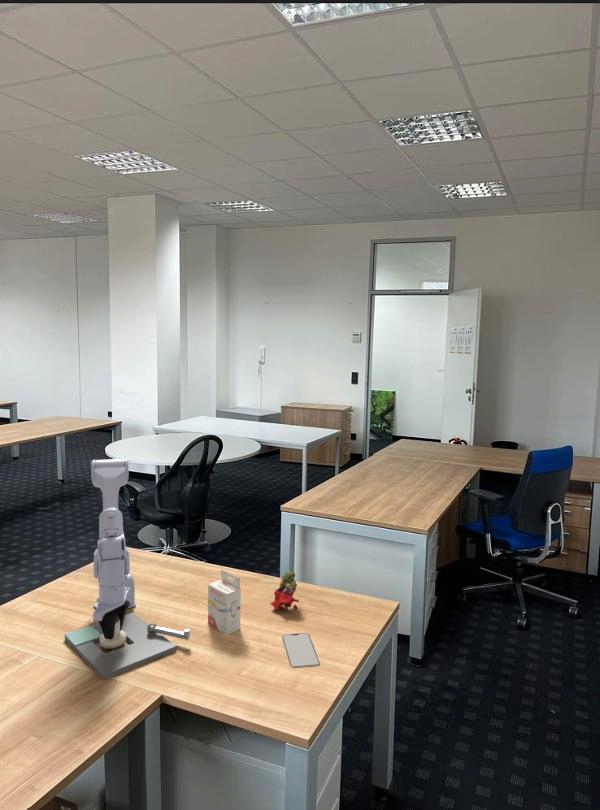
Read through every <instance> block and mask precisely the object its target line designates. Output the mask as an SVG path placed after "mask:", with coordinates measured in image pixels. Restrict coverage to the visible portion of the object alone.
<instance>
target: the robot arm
mask: <svg viewBox="0 0 600 810" xmlns="http://www.w3.org/2000/svg"><path fill="white" fill-rule="evenodd" d="M90 465H91V466H90V472H91V473H90V476H91V481H92V482H91V484H92V485H93V487H94V488H98V489H99V488H100V491H101V494H102V495H101V496H102V512H101V513H100V514H99V516H98V517H99V518H98V519H99V520H98V521H99V522H98V525H99V526H98V529H99V530H98V533H99V535H98V536H99V537H98V538H99V539H97V548H96V549H95V550H94V553H93V578H94V579H95V580H97V581H98V597H97V598H96V603H94V604H93V607H94V608H95V610H94V611H93V613H92V616H93V617H92V618H93V619H92V621H95V622H96V621H97V622H98V624H100V626H101V629H102V631H103V635H104V638H105V639H113V637H114V631H115V623H116V620H117V617H120V631H121V629H122V625H123V621H124V617H125V615H127V611H128V609H130V608H134V607H136V606H137V603H136V601H135V600H136V599H135V596H136V595H135V594H136V593H135V589H136V588H135V581H134V578H133V575H132V574H131V571H130V570H131V568H130V567H131V566H130V562H131V561H130V551H129V550H130V549H128V547H127V546H126V537H125V532H124V524H123V523H124V520H123V519H124V518H123V512H122V511H121V510H119V494H120V493H119V492H120V490H121V487H124V486H125V485H127V484H128V482H129V478H130V477H129V476H130V475H129V473H130V472H129V471H130V470H129V459H128V458H126V457H125V458H113V459H111V458H109V459H92V460H91V463H90Z"/></svg>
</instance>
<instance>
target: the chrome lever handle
mask: <svg viewBox="0 0 600 810" xmlns="http://www.w3.org/2000/svg"><path fill="white" fill-rule="evenodd" d="M148 624H149V625H148V626H147V632H148V633H159V634H161V635H163V636H164V635H166V636H170V637H174V638H179V639H182V640H186V641H187V640H188V641H189V639H190V637H191V636H190V635H191V634H190V633H191V629H188V628H185V629H184V630H183V631H180V630H176V629H172V628H166V627H162V626H157V624H156V623H148Z"/></svg>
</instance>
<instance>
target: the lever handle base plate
mask: <svg viewBox="0 0 600 810" xmlns="http://www.w3.org/2000/svg"><path fill="white" fill-rule="evenodd" d="M149 624H150V623H147V622H146V621H145V620H144V619H142V618H141V617H140V616H138V615H137V614H136V613H134V612H131V613H128V614H127V613H126V614H125V617H124V621H123V625H122V629H121V630H122V631H124V632H125V633H126V642H128V643H129V644H128V645H125V646H123V647H122V646H121V648H119V647H118V648H117V649H113V650H112V651H109V652H106V653H105V652H103V650H102V649H101V648H100V647H99V646H97V644H100V636H101V635H102V634H103V631H102V629H101V626H100V624H99V623H98V624H95V625H88V626H85V627H83V628H79V629H76V630H73V631H70V632H67V633H65V634H64V640H65V641H66V643H67V644H68V645H69V646H70V647H71V648H72V649H73V650H74V651H75V653H77V654H78V655H79V656H80V657H81V659H82V660H84V661H85V663H86V665H88V666H89V667H90V668H91V669H92V670H93V671H94V672H95V673H96V675H98V677H100V679H102V680H103V681H104V680H107V679H109V678H111V677H112V678H113V677H114V676H117V675H119V674H121V673H124V672H126V671H129V670H132V669H133V668H137V667H139V666H141V665H145V664H146V663H149V662H151V661H155V660H156V659H159V658H162V657H164V656H167V655H169V654H172V653H174V652H176V651H177V645H176V644H174V643H172V641H171V640H169V639H167V638H166V637H165V636H164V635H163V634H159V633H148V632H147V626H148V625H149Z"/></svg>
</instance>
